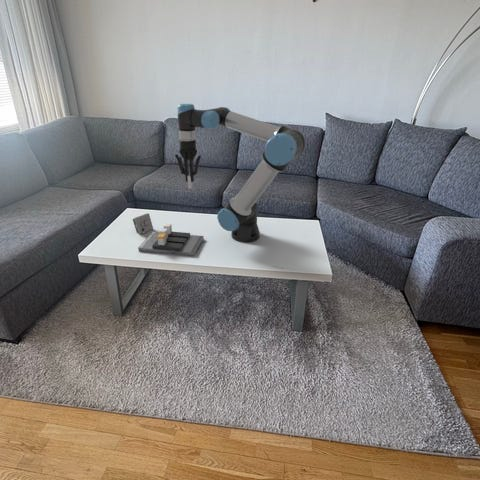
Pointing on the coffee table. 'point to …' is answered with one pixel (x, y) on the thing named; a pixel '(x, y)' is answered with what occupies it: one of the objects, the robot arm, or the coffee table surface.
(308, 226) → the coffee table surface
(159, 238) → the block
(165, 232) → the block
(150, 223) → the electrical switch
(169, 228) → the block
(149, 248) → the panel
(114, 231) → the coffee table surface
